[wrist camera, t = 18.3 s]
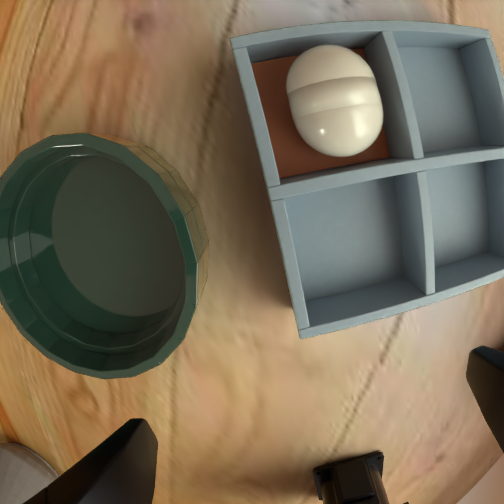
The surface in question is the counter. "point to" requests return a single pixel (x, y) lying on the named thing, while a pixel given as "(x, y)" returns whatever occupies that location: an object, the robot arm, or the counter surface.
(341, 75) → the egg
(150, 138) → the counter surface
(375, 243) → the divided tray
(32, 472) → the coffee pot
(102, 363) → the bowl
